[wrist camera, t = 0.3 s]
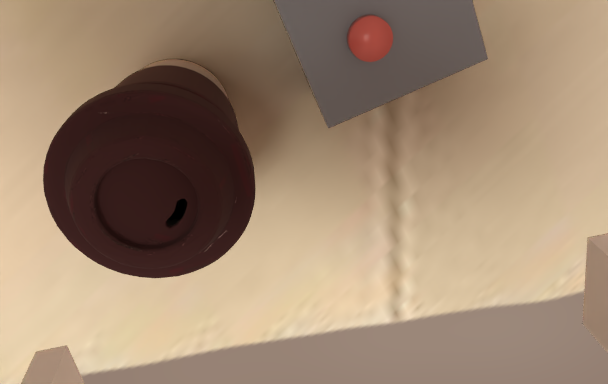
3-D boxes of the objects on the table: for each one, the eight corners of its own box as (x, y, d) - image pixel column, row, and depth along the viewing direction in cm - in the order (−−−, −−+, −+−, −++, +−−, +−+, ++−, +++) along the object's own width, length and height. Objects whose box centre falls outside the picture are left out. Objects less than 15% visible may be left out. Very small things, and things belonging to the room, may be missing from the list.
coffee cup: (73, 78, 38) (-19, 164, 24) (206, 10, 37) (187, 60, 23) (153, 197, 42) (113, 327, 28) (274, 139, 41) (291, 245, 27)
